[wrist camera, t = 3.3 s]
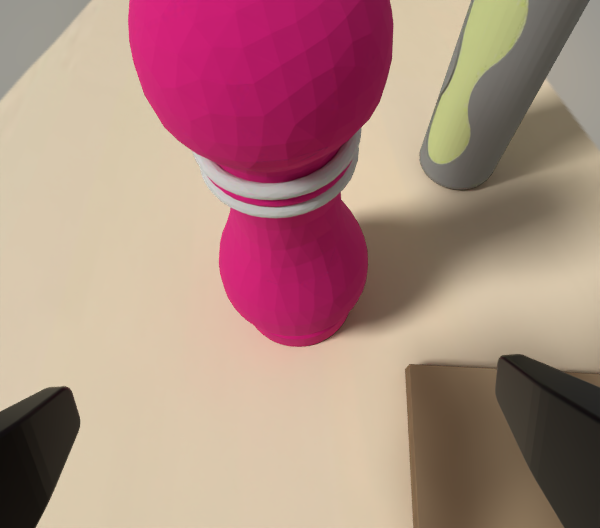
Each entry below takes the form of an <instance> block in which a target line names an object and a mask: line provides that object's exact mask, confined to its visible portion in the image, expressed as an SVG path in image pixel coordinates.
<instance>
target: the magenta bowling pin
mask: <svg viewBox="0 0 600 528" xmlns="http://www.w3.org/2000/svg"><path fill="white" fill-rule="evenodd" d="M128 25H129V42H130V47H131V52H132V57H133V61H134V65H135V68H136V71H137V74H138V77H139V80H140V83H141V86H142V89H143V92H144V95H145V97H146V98H147V100H148V101H149V103H150V105H151V106H152V108H153V110H154V111H155V113H156V114H157V116H158V118H159V119H160V121H161V123H162V124H163V126H164V127H165V128H166V129H167V130H168V131H169V132H170V133H171V134H172V135H173V136H174V137H175V138H176V139H177V140H178V141H180V142H181V143H182V144H184V145H185V146H187V147H188V148H189V149H191V150H192V152H193V154H194V157H195V160H196V162H197V163H198V165H199V167H200V170H201V174H202V177H203V179H204V181H205V183H206V185H207V186H208V188H209V189H210V190H211V192H212V193H213V194H214V195H215V196H216V197H217V198H218V199H219V200H220V201H221V202H223V203H224V204H226V205H228V206H229V207H231V209H230V214H229V217H228V220H227V223H226V225H225V228H224V230H223V233H222V237H221V241H220V252H219V268H220V275H221V278H222V282H223V285H224V288H225V291H226V293H227V296H228V298H229V300H230V302H231V303H232V305H233V306H234V308H235V309H236V310H237V311H238V312H239V313H240V314H241V316H243V317H244V318H245V319H246V320H247V321H249V322H250V323H252V324H253V325H254V326H255V327H256V328H257V329H258V330H259V331H260V332H261V333H262V334H263V335H265V336H266V337H267V338H269V339H270V340H272V341H274V342H276V343H279V344H282V345H287V346H295V347H302V346H309V345H313V344H316V343H319V342H321V341H323V340H325V339H327V338H329V337H330V336H331V335H333V334H334V333H335V332H336V331H337V330H338V329H339V328H340V327H341V326H342V324H343V323H344V321H345V320H346V318H347V316H348V313H349V311H350V310H351V309H352V308H353V307H354V305H355V304H356V302H357V301H358V299H359V297H360V295H361V293H362V292H363V289H364V286H365V282H366V277H367V269H368V251H367V246H366V242H365V238H364V235H363V233H362V231H361V228H360V226H359V224H358V222H357V220H356V219H355V217H354V216H353V214H352V212H351V211H350V210H349V208H348V207H347V206H346V205H345V204H344V202H343V201H342V200H341V191H342V190H343V189H344V188H345V186H346V185H347V184H348V182H349V181H350V179H351V177H352V175H353V173H354V170H355V167H356V164H357V161H358V153H359V147H358V146H359V143H360V138H361V127H362V126H363V125H364V124H365V123H366V122H367V121H368V120H369V119H370V117H371V116H372V114H373V112H374V111H375V109H376V107H377V106H378V104H379V102H380V99H381V96H382V93H383V90H384V87H385V84H386V81H387V77H388V73H389V69H390V65H391V61H392V45H393V17H392V9H391V4H390V0H130V2H129V16H128Z"/></svg>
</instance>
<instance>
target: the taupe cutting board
mask: <svg viewBox="0 0 600 528" xmlns="http://www.w3.org/2000/svg"><path fill="white" fill-rule="evenodd" d="M496 373H497V369H493V368H473V367H454V366H434V365H414V364H409V366H408V367H407V368H406V369H405V374H406V393H407V412H408V432H409V451H410V470H411V489H412V509H413V528H564V527H563V525H562V523H561V522H560V520H559V518H558V517H557V515H556V513H555V512H554V510H553V508H552V507H551V505H550V503H549V502H548V500H547V498H546V497H545V495H544V493H543V492H542V490H541V488H540V487H539V485H538V483H537V482H536V480H535V478H534V476H533V475H532V473H531V471H530V469H529V467H528V465H527V463H526V461H525V459H524V457H523V455H522V453H521V451H520V449H519V447H518V445H517V442H516V440H515V438H514V436H513V434H512V432H511V430H510V427H509V425H508V423H507V421H506V419H505V417H504V415H503V412H502V410H501V408H500V406H499V404H498V402H497V399H496V395H495V384H496ZM565 373H567V374H569V375H572V376H574V377H577V378H579V379H581V380H584V381H586V382H589V383H591V384H593V385H596V386H598V387H600V374H590V373H571V372H565Z"/></svg>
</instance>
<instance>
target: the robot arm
mask: <svg viewBox="0 0 600 528" xmlns="http://www.w3.org/2000/svg"><path fill="white" fill-rule="evenodd" d="M495 395H496V399H497V402H498V404H499V406H500V408H501V410H502V412H503V415H504V417H505V419H506V421H507V423H508V425H509V427H510V430H511V432H512V434H513V436H514V438H515V440H516V442H517V445H518V447H519V449H520V451H521V453H522V455H523V457H524V459H525V461H526V463H527V465H528V467H529V469H530V471H531V473H532V475H533V476H534V478H535V480H536V482H537V483H538V485H539V487H540V488H541V490H542V492H543V493H544V495H545V497H546V498H547V500H548V502H549V503H550V505H551V507H552V508H553V510H554V512H555V513H556V515H557V517H558V518H559V520H560V522H561V523H562V525H563V527H564V528H600V387H598V386H596V385H593V384H591V383H589V382H586V381H584V380H581V379H579V378H577V377H574V376H572V375H569V374H567V373H565V372H562V371H560V370H558V369H555V368H553V367H550V366H548V365H546V364H543V363H541V362H538V361H536V360H534V359H531V358H529V357H526V356H524V355H521V354H514V355H503V356H501V357H500V358H499V360H498V363H497V373H496V384H495ZM79 428H80V416H79V413H78V410H77V406H76V403H75V400H74V397H73V393H72V391H71V390H70V388H68V387H66V386H61V387H49V388H46V389H43V390H41V391H40V392H38V393H36V394H34V395H32V396H30V397H28V398H26V399H24V400H22V401H20V402H18V403H16V404H14V405H12V406H10V407H8V408H6V409H5V410H3V411H1V412H0V528H36V526H37V524H38V522H39V520H40V518H41V516H42V514H43V512H44V511H45V509H46V507H47V505H48V503H49V500H50V498H51V496H52V494H53V491H54V489H55V487H56V484H57V482H58V480H59V477H60V475H61V472H62V470H63V468H64V465H65V463H66V460H67V458H68V456H69V453H70V451H71V448H72V446H73V444H74V441H75V439H76V436H77V434H78V431H79Z"/></svg>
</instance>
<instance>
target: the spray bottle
mask: <svg viewBox="0 0 600 528" xmlns="http://www.w3.org/2000/svg"><path fill="white" fill-rule="evenodd" d="M589 1H590V0H471V3H470V6H469V9H468V12H467V15H466V18H465V20H464V23H463V26H462V29H461V32H460V35H459V38H458V41H457V44H456V47H455V50H454V53H453V56H452V59H451V62H450V65H449V68H448V70H447V73H446V76H445V79H444V82H443V85H442V88H441V91H440V94H439V97H438V100H437V103H436V106H435V109H434V112H433V115H432V118H431V121H430V123H429V126H428V129H427V132H426V135H425V138H424V141H423V144H422V147H421V150H420V164H421V166H422V169H423V170H424V172H425V173H426V175H427V176H428V177H429V178H430V179H431V180H433V181H434V182H435V183H437V184H439V185H441V186H443V187H447V188H450V189H461V190H462V189H469V188H473V187H476V186H478V185H480V184H482V183H483V182H485V181H486V180H487V179H488V178H489V177H490V176H491V174H492V173H493V171H494V169H495V167H496V165H497V164H498V162H499V160H500V158H501V157H502V155H503V153H504V151H505V149H506V148H507V146H508V144H509V142H510V141H511V139H512V137H513V135H514V134H515V132H516V130H517V128H518V126H519V125H520V123H521V121H522V119H523V118H524V116H525V114H526V112H527V110H528V109H529V107H530V105H531V103H532V102H533V100H534V98H535V96H536V95H537V93H538V91H539V89H540V87H541V86H542V84H543V82H544V80H545V79H546V77H547V75H548V73H549V71H550V70H551V68H552V66H553V64H554V63H555V61H556V59H557V57H558V56H559V54H560V52H561V50H562V48H563V47H564V45H565V43H566V41H567V40H568V38H569V36H570V34H571V32H572V31H573V29H574V27H575V25H576V24H577V22H578V20H579V18H580V16H581V15H582V13H583V11H584V9H585V7H586V6H587V4H588V2H589Z"/></svg>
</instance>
